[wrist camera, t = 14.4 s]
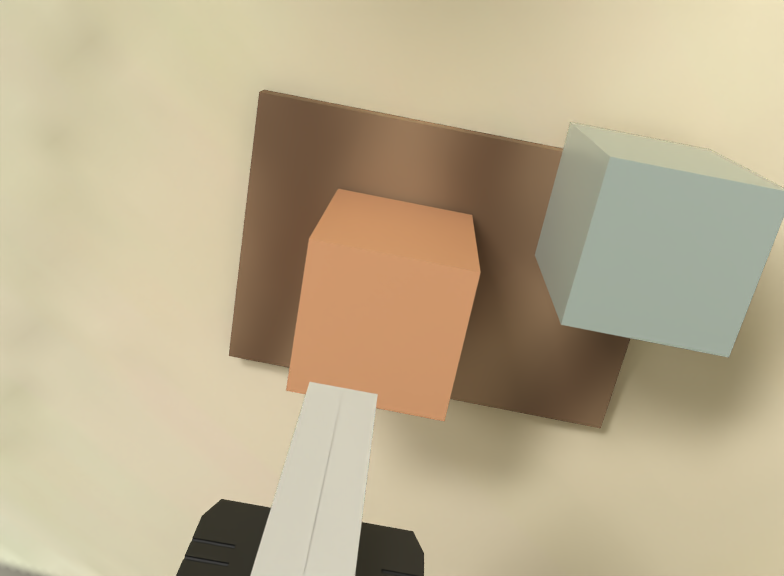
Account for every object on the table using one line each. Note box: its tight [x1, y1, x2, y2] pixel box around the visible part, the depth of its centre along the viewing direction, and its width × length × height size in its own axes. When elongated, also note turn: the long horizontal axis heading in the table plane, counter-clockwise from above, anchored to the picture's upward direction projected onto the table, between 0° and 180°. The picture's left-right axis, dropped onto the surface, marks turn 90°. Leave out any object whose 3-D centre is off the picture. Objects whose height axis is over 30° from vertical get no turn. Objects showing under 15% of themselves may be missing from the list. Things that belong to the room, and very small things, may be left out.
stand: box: [229, 90, 630, 428], centre depth 30 cm, size 16×11×1 cm
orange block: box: [286, 189, 481, 421], centre depth 26 cm, size 5×5×7 cm
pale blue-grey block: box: [535, 122, 784, 357], centre depth 25 cm, size 5×5×7 cm
